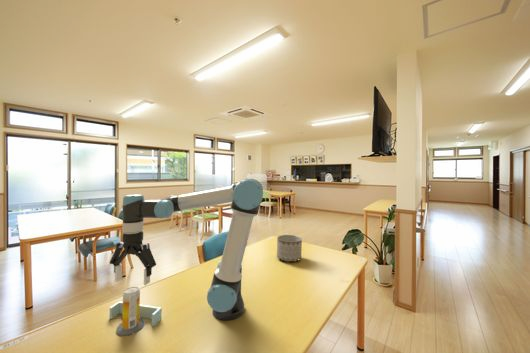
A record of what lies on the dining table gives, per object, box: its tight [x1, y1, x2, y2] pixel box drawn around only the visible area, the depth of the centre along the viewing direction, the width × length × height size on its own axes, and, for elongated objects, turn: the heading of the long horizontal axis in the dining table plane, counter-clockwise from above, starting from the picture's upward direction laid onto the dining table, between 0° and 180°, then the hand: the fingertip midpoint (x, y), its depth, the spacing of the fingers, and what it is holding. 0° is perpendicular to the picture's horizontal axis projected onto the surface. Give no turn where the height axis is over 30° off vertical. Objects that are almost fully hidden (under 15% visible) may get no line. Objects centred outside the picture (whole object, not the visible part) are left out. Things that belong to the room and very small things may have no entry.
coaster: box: [115, 317, 145, 337], centre depth 91 cm, size 10×10×1 cm
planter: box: [276, 234, 303, 262], centre depth 172 cm, size 19×19×16 cm
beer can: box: [121, 286, 141, 330], centre depth 91 cm, size 6×6×15 cm
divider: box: [108, 300, 163, 327], centre depth 96 cm, size 22×5×5 cm, turn 80°
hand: (132, 282), depth 91 cm, fingers open, 13 cm apart
